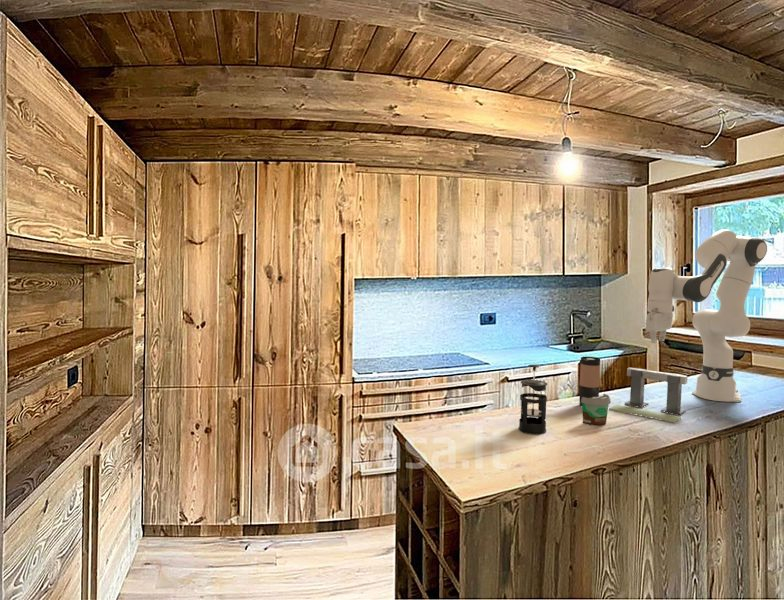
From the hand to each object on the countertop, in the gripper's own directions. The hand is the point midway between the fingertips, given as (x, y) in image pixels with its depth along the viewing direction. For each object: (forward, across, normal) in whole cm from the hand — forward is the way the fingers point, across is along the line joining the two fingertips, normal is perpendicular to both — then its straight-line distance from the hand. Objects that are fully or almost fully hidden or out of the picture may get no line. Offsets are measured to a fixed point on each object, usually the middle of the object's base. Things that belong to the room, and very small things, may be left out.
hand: (657, 341), depth 209 cm
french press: (+28, -62, +20) cm, 71 cm away
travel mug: (+28, -17, +20) cm, 38 cm away
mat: (+27, -12, 0) cm, 30 cm away
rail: (+15, 0, 0) cm, 15 cm away
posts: (+27, 0, 0) cm, 27 cm away
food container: (+28, -38, +7) cm, 47 cm away
